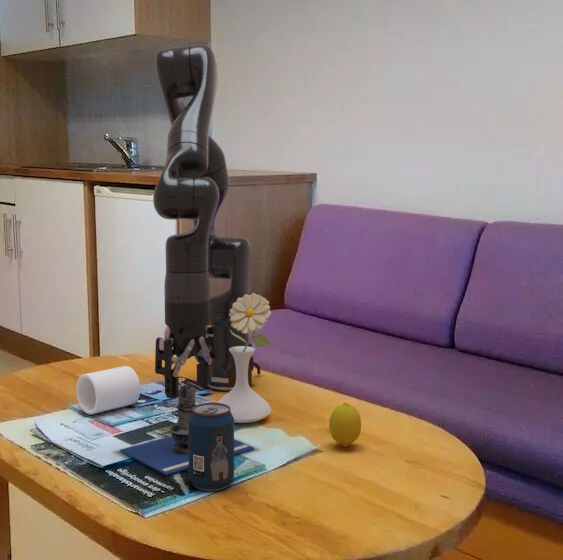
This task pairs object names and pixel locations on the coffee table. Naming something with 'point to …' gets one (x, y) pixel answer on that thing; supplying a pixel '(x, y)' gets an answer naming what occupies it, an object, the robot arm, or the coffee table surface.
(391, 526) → the coffee table surface
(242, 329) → the flower in vase
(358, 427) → the lemon
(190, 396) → the dark grey turned piece
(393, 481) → the coffee table surface
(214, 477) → the soda can
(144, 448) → the blue notebook
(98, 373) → the mug
